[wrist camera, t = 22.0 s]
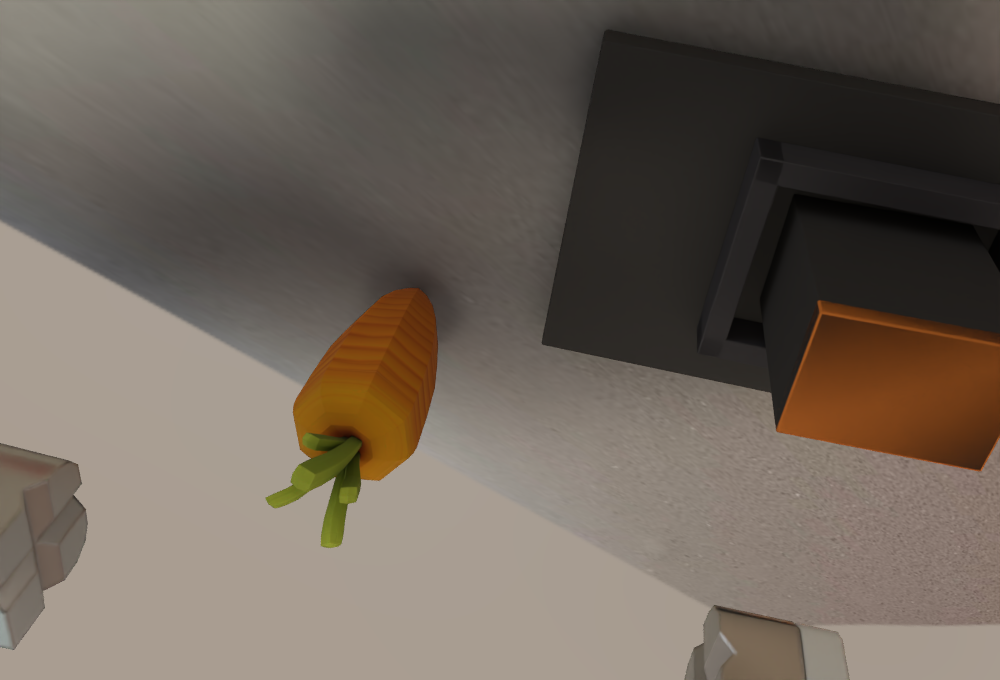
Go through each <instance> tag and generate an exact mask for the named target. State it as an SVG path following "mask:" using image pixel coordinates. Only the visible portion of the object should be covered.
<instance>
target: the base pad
mask: <svg viewBox="0 0 1000 680" xmlns="http://www.w3.org/2000/svg"><path fill="white" fill-rule="evenodd" d="M794 194H798V195H803V196H809V197H814V198H820V199H826V200H831V201H837V202H842V203H848V204H854V205H859V206H865V207H871V208H876V209H882V210H887V211H893V212H899V213H904V214H910V215H916V216H921V217H927V218H932V219H938V220H944V221H949V222H955V223H961V224H966V225H972V226H974V228H975V230H976V232H977V233H978V235H979V237H980V239H981V240H982V242H983V244H984V246H985V248H986V249H987V251H988V253H989V255H990V256H991V258H992V260H993V262H994V264H995V265H996V267H997V269H998V271H999V272H1000V105H999V104H994V103H989V102H983V101H978V100H973V99H968V98H962V97H957V96H952V95H947V94H941V93H936V92H931V91H926V90H920V89H915V88H910V87H905V86H899V85H894V84H889V83H884V82H878V81H873V80H868V79H863V78H857V77H852V76H847V75H842V74H836V73H831V72H826V71H821V70H815V69H810V68H805V67H800V66H794V65H789V64H784V63H779V62H774V61H768V60H763V59H758V58H753V57H747V56H742V55H737V54H732V53H726V52H721V51H716V50H711V49H705V48H700V47H695V46H690V45H684V44H679V43H674V42H669V41H663V40H658V39H653V38H648V37H642V36H637V35H632V34H627V33H621V32H616V31H611V30H606V31H605V33H604V37H603V41H602V46H601V51H600V56H599V61H598V66H597V71H596V76H595V81H594V86H593V91H592V95H591V100H590V105H589V110H588V115H587V120H586V125H585V130H584V135H583V140H582V145H581V150H580V155H579V160H578V165H577V170H576V175H575V180H574V185H573V190H572V195H571V200H570V205H569V209H568V214H567V219H566V224H565V229H564V234H563V239H562V244H561V249H560V254H559V259H558V264H557V269H556V274H555V279H554V284H553V289H552V294H551V299H550V304H549V309H548V314H547V319H546V323H545V328H544V333H543V338H542V344H543V345H547V346H552V347H557V348H561V349H566V350H571V351H576V352H580V353H585V354H590V355H595V356H599V357H604V358H609V359H614V360H618V361H623V362H628V363H633V364H637V365H642V366H647V367H652V368H656V369H661V370H666V371H671V372H675V373H680V374H685V375H690V376H695V377H699V378H704V379H709V380H714V381H718V382H723V383H728V384H733V385H737V386H742V387H747V388H752V389H756V390H761V391H766V392H771V385H770V377H769V369H768V361H767V354H766V346H765V338H764V330H763V322H762V314H761V306H760V297H761V293H762V290H763V287H764V284H765V281H766V278H767V275H768V272H769V269H770V266H771V263H772V260H773V256H774V253H775V250H776V247H777V244H778V241H779V238H780V235H781V232H782V229H783V226H784V223H785V219H786V216H787V213H788V210H789V207H790V204H791V201H792V198H793V195H794Z"/></svg>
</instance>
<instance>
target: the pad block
mask: <svg viewBox="0 0 1000 680" xmlns="http://www.w3.org/2000/svg"><path fill="white" fill-rule="evenodd" d="M760 306H761V314H762V322H763V330H764V338H765V346H766V354H767V361H768V369H769V377H770V385H771V393H772V401H773V409H774V416H775V425H776V431H777V432H780V433H785V434H790V435H795V436H800V437H806V438H811V439H816V440H821V441H826V442H831V443H836V444H841V445H846V446H852V447H857V448H862V449H867V450H872V451H877V452H882V453H887V454H893V455H898V456H903V457H908V458H913V459H918V460H923V461H928V462H934V463H939V464H944V465H949V466H954V467H959V468H964V469H969V470H975V471H982V469H983V467H984V465H985V463H986V462H987V460H988V458H989V456H990V454H991V452H992V451H993V449H994V447H995V445H996V443H997V441H998V440H999V438H1000V272H999V271H998V269H997V267H996V265H995V264H994V262H993V260H992V258H991V256H990V255H989V253H988V251H987V249H986V248H985V246H984V244H983V242H982V240H981V239H980V237H979V235H978V233H977V232H976V230H975V228H974V226H972V225H966V224H961V223H955V222H949V221H944V220H938V219H932V218H927V217H921V216H916V215H910V214H904V213H899V212H893V211H887V210H882V209H876V208H871V207H865V206H859V205H854V204H848V203H842V202H837V201H831V200H826V199H820V198H814V197H809V196H803V195H798V194H794V195H793V198H792V201H791V204H790V207H789V210H788V213H787V216H786V219H785V223H784V226H783V229H782V232H781V235H780V238H779V241H778V244H777V247H776V250H775V253H774V256H773V260H772V263H771V266H770V269H769V272H768V275H767V278H766V281H765V284H764V287H763V290H762V293H761V297H760Z"/></svg>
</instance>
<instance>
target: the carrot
mask: <svg viewBox="0 0 1000 680" xmlns="http://www.w3.org/2000/svg"><path fill="white" fill-rule="evenodd" d="M437 352H438V341H437V329H436V318H435V314H434V309H433V305H432V304H431V302H430V300H429V299H428V297H427V295H426V294H425V293H424V292H422V291H421V290H420V289H419V288H406V289H400V290H395V291H393V292H391V293H388V294H386V295H384V296H382V297H381V298H380V299H379V300H378V301H377V302H376V303H374V304H373V305H372V306H371V307H370V308H369V309H368V310H367V311H366V312H365V313H364V314H363V315H362V316H361V317H359V318H358V319H357V320H356V321H355V322H354V323H353V324H352V325H351V326H350V327H349V328H348V329H347V330H346V331H345V332H344V333H343V334H342V335H341V336H340V337H339V338H338V339H337V340H336V341H335V342H334V343H333V344H332V345H331V346H330V348H329V349H328V351H327V352H326V354H325V355H324V357H323V358H322V359H321V361H320V362H319V364H318V365H317V367H316V368H315V370H314V371H313V373H312V374H311V376H310V377H309V379H308V381H307V382H306V384H305V385H304V387H303V389H302V390H301V392H300V393H299V395H298V397H297V398H296V401H295V403H294V407H293V415H294V421H295V426H296V431H297V436H298V441H299V446H300V450H301V451H302V452H304V453H305V454H306V455H307V456H308V457H310V458H311V459H309V460H307V461H305V462H303V463H301V464H299V465H298V467H297V468H296V469H295V471H294V472H293V474H292V478H291V483H292V484H293V485H292V486H290V487H288V488H286V489H284V490H282V491H280V492H277V493H275V494H273V495H270V496H268V497H266V500H267V502H268V504H269V505H271V506H272V507H274V508H279V507H282V506H285V505H287V504H289V503H291V502H294V501H296V500H298V499H299V498H300V497H302V496H303V495H305V494H306V493H307V492H309V491H311V490H313V489H314V488H317V487H319V486H321V485H323V484H324V483H326V482H328V481H329V480H331V479H332V478H334V477H336V479H335V482H334V486H333V489H332V493H331V496H330V500H329V504H328V507H327V510H326V514H325V517H324V522H323V528H322V534H321V546H323V547H326V548H333V547H337V546H339V545H341V543H342V539H343V533H344V525H345V517H346V511H347V505H348V504H349V503H354V502H356V501H357V498H358V495H359V492H360V487H361V479H364V480H378V481H379V480H381V479H382V478H384V477H385V476H386V475H388V474H389V473H390V472H391V471H393V470H394V469H395V468H397V467H398V466H399V465H400V464H401V463H403V462H404V461H405V460H407V459H408V458H409V457H410V456H411V455H412V454H413V453H414V451H415V449H416V448H417V445H418V442H419V439H420V436H421V433H422V430H423V427H424V424H425V421H426V418H427V414H428V411H429V407H430V403H431V400H432V396H433V392H434V389H435V380H436V370H437Z"/></svg>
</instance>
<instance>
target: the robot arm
mask: <svg viewBox="0 0 1000 680" xmlns="http://www.w3.org/2000/svg"><path fill="white" fill-rule="evenodd" d="M81 484H82V482H81V477H80V472H79V467H78V464H76V463H73V462H71V461H68V460H64V459H61V458H57V457H53V456H48V455H45V454H41V453H37V452H33V451H29V450H25V449H21V448H17V447H13V446H9V445H5V444H1V443H0V647H2V648H8V649H12V650H14V649H15V648H16V646H17V645H18V644H19V642H20V641H21V640H22V638H23V637H24V635H25V634H26V633H27V631H28V630H29V629H30V627H31V626H32V624H33V623H34V622H35V620H36V619H37V618H38V616H39V615H40V613H41V612H42V611H43V609H44V608H45V605H44V596H43V590H46V589H48V588H50V587H52V586H54V585H56V584H58V583H60V582H62V581H64V580H65V579H66V577H67V576H68V575H69V573H70V572H71V570H72V569H73V567H74V566H75V564H76V563H77V561H78V558H79V556H80V553H81V551H82V548H83V546H84V543H85V540H86V532H87V524H88V523H87V515H86V509H85V508H84V507H83V505H82V504H81V503H80V502H79V501H78V500H77V498H76V497H75V496H74V495H73V494H74V493H75V492H76V491H77V489H78V488H79V487H80V485H81ZM685 680H850V679H849V673H848V668H847V662H846V657H845V651H844V645H843V640H842V638H841V637H840V635H839V634H838V632H835V631H830V630H826V629H822V628H817V627H813V626H808V625H804V624H799V623H795V624H794V623H793V622H792V621H787V620H782V619H777V618H773V617H768V616H763V615H759V614H754V613H749V612H745V611H740V610H735V609H731V608H726V607H721V606H717V605H714V606H713V607H712V608H711V610H710V611H709V613H708V615H707V618H706V620H705V623H704V643H703V644H701V645H699V646H697V647H695V648H694V650H693V652H692V655H691V658H690V661H689V663H688V666H687V671H686V675H685Z"/></svg>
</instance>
